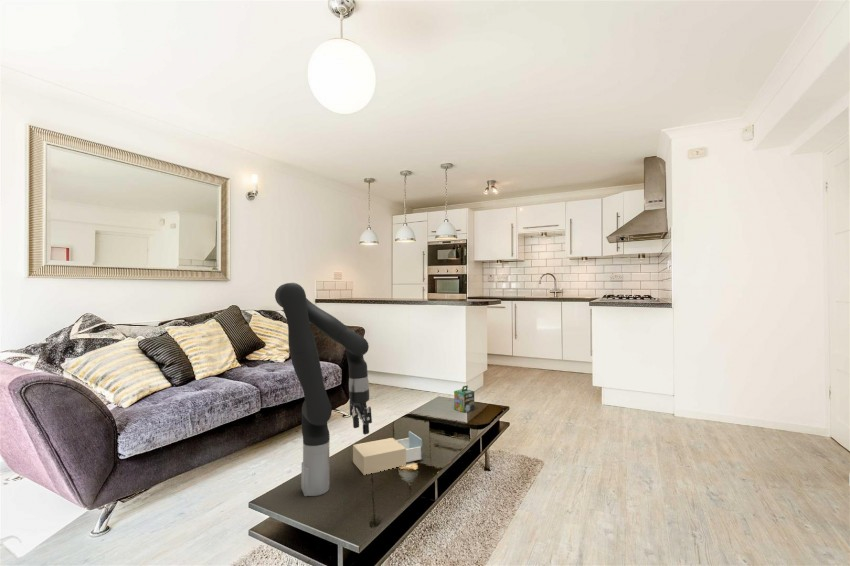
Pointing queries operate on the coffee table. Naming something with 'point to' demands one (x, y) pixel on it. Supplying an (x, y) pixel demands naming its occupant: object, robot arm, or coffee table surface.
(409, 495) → the coffee table surface
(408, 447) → the inner tray
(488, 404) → the coffee table surface
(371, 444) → the sleeve
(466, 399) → the chalk box
